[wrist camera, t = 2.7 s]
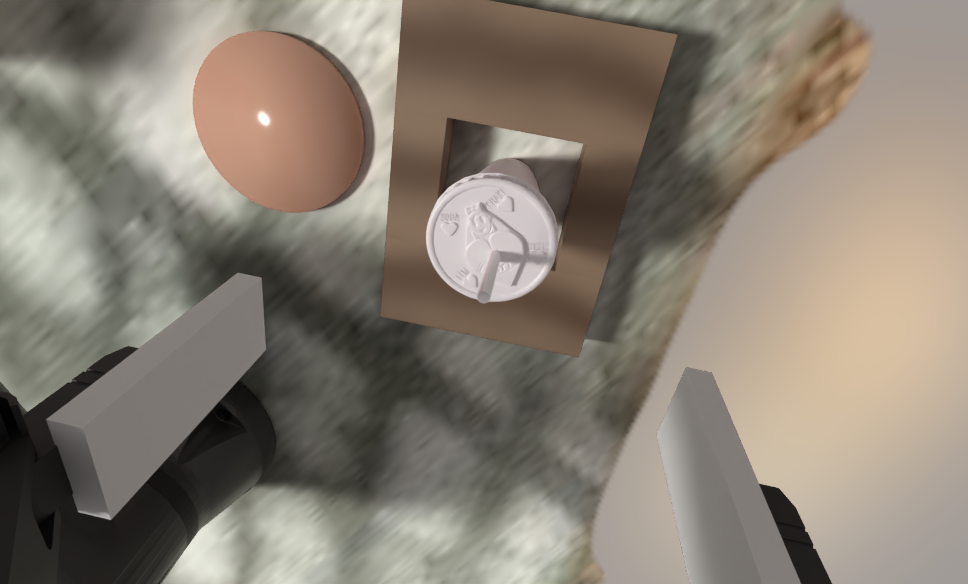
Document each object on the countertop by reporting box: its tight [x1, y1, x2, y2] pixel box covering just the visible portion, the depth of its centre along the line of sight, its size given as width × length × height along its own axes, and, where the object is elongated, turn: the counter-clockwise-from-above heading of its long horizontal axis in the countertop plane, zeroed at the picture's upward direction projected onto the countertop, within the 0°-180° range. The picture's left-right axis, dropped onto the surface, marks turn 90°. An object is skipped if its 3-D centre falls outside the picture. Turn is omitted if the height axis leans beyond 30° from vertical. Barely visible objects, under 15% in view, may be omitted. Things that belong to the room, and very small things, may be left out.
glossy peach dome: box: [193, 31, 365, 213], centre depth 32 cm, size 11×11×1 cm
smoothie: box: [426, 158, 558, 303], centre depth 26 cm, size 6×6×14 cm
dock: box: [380, 0, 678, 357], centre depth 31 cm, size 20×14×2 cm
